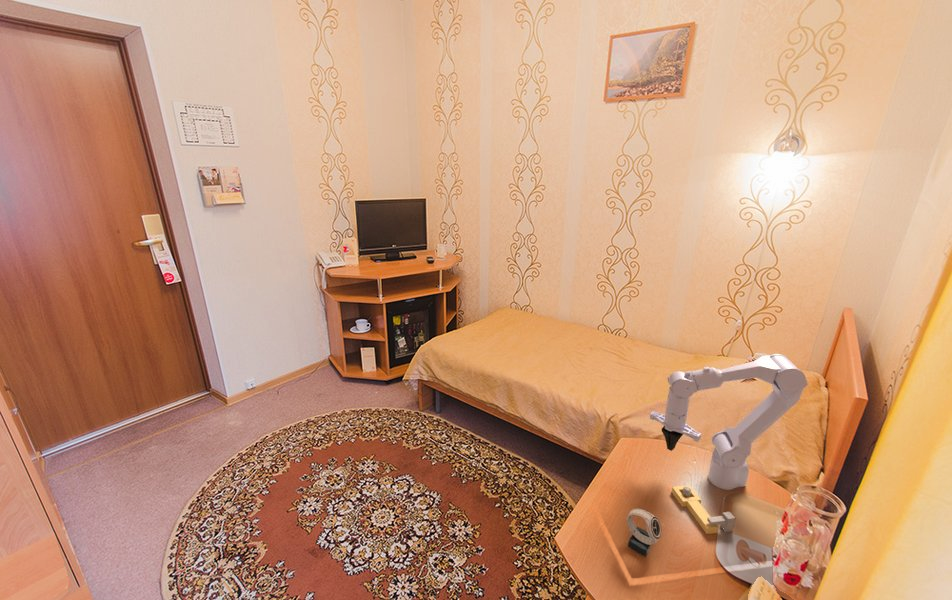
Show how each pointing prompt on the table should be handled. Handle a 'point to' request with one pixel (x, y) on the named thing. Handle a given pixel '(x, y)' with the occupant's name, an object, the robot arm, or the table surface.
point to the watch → (643, 531)
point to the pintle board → (724, 520)
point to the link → (694, 508)
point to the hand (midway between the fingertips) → (670, 448)
